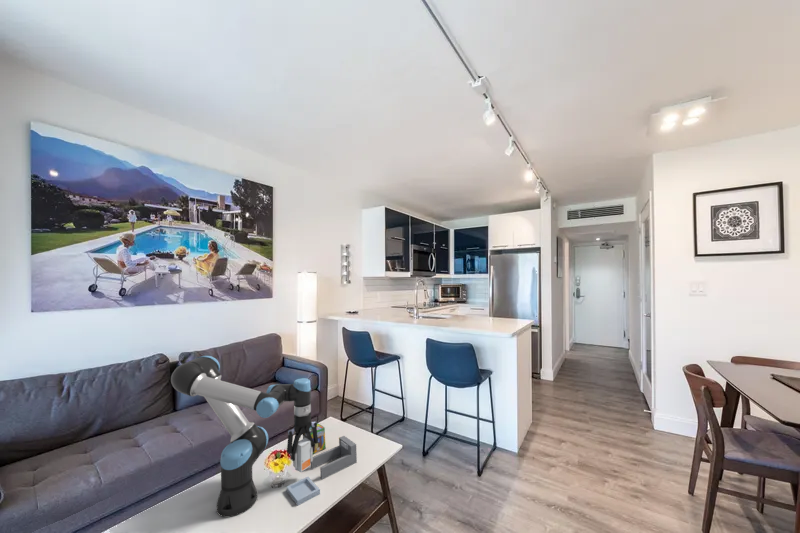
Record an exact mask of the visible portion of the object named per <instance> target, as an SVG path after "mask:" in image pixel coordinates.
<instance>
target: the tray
mask: <svg viewBox="0 0 800 533" xmlns="http://www.w3.org/2000/svg"><path fill="white" fill-rule="evenodd" d="M286 492H287V494H288V495H289V496H290V497H291V499H292V501H294V503H295V504H296V506H300V505H301V504H304V503H305V502H308V501H309V500H311V499H313V498H315V497H317V496H319V495H321V489H320V488H319V487H318V485H316V484H315V482H314V481H313V480H312V479H311V478H310V477H309V476H306V477H303V478H301V479H300V480H299V479H298V481H295V482H293V483H291V484H289V485H286Z"/></svg>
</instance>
